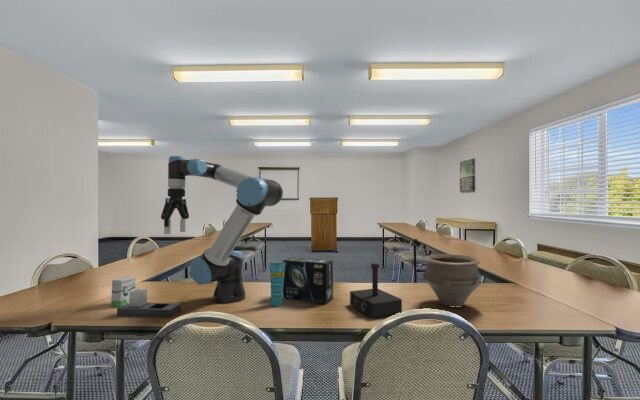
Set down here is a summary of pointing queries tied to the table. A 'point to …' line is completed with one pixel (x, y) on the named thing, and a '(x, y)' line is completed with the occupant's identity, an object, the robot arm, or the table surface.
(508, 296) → the table surface
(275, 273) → the tube
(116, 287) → the ink box
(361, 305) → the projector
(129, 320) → the table surface
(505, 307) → the table surface
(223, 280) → the robot arm
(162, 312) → the dark grey slotted tray
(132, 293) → the grey rectangular block
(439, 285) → the planter
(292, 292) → the box
